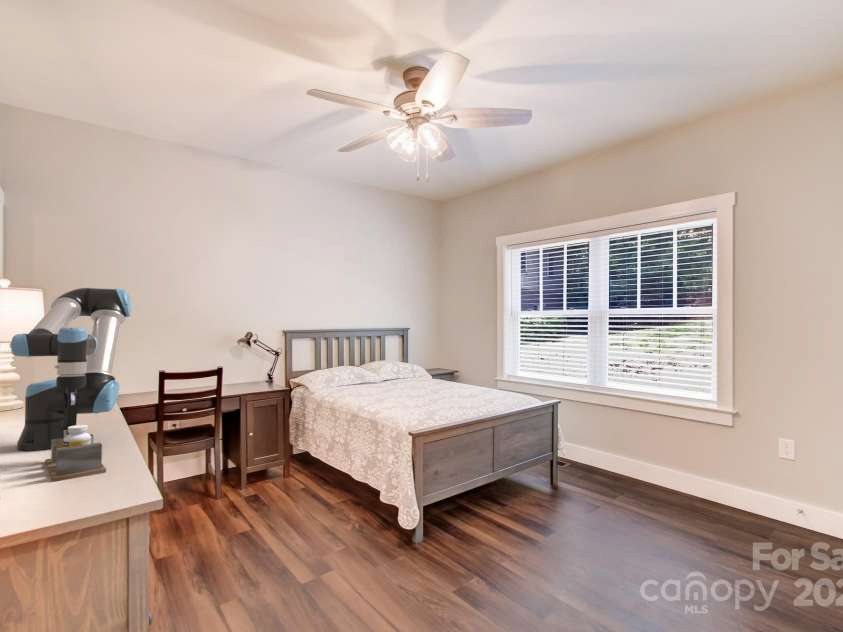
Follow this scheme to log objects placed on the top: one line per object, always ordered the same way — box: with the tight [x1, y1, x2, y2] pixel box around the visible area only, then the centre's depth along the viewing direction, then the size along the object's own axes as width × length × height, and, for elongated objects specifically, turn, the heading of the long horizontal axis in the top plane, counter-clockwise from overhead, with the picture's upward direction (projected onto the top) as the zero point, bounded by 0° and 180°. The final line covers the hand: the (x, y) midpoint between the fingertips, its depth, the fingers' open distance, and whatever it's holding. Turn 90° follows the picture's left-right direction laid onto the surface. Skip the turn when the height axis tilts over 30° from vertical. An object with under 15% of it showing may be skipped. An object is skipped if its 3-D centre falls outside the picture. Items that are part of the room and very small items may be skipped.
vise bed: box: [44, 442, 107, 482], centre depth 134 cm, size 24×12×8 cm, turn 44°
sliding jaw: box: [50, 433, 95, 465], centre depth 139 cm, size 7×10×7 cm
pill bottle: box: [63, 424, 91, 448], centre depth 132 cm, size 6×6×12 cm
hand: (69, 449), depth 142 cm, fingers closed
